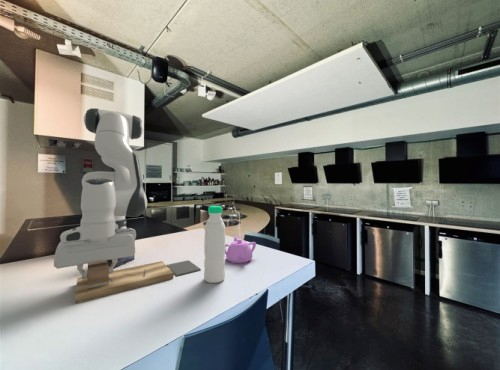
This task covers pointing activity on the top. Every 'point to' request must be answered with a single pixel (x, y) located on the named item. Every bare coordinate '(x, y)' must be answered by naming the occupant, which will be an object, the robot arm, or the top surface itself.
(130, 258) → the small box
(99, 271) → the block
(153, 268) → the oak board
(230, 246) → the teapot
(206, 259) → the water bottle
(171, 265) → the rubber mat
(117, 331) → the top surface
